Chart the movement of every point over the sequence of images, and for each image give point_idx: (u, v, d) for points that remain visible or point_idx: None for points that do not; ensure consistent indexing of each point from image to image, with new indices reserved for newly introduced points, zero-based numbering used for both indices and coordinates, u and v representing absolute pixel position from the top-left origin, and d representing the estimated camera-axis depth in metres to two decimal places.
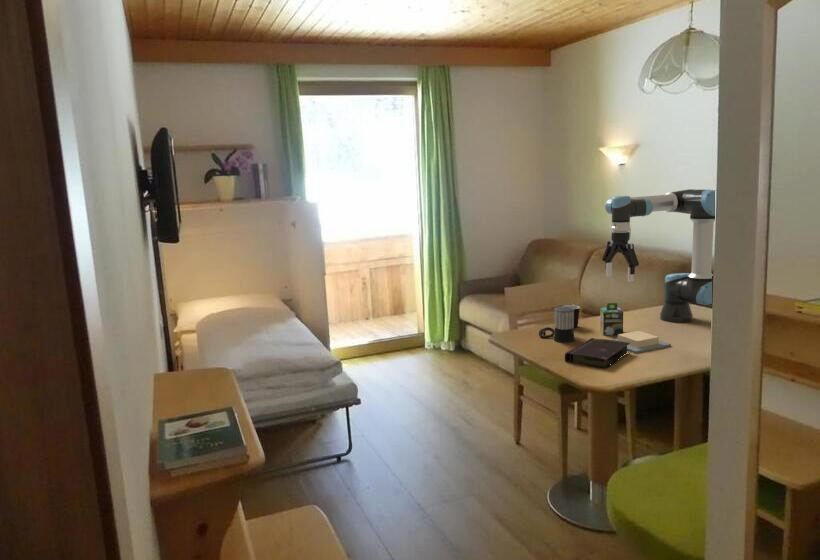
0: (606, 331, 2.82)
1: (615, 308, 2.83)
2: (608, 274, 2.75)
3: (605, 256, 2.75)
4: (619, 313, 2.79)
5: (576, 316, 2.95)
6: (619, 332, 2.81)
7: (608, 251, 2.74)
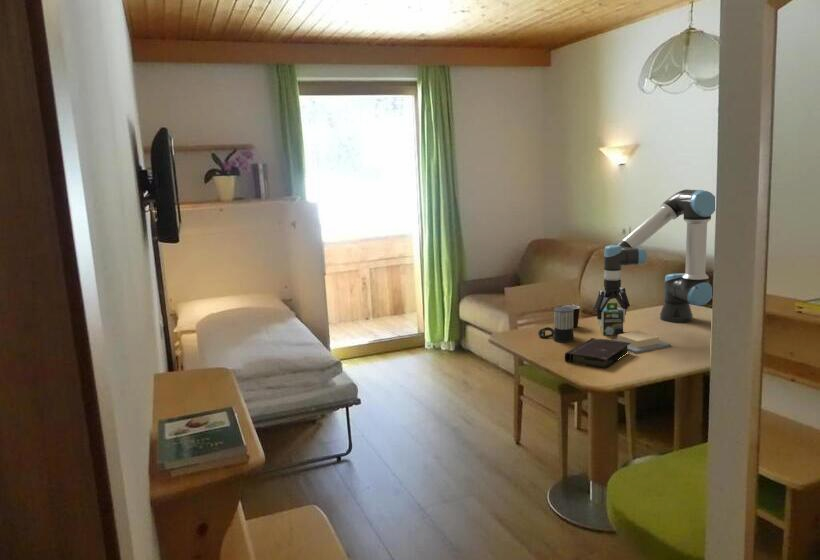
0: (606, 331, 2.82)
1: (615, 308, 2.83)
2: None
3: (623, 301, 2.88)
4: (619, 313, 2.79)
5: (576, 316, 2.95)
6: (619, 332, 2.81)
7: (622, 297, 2.86)
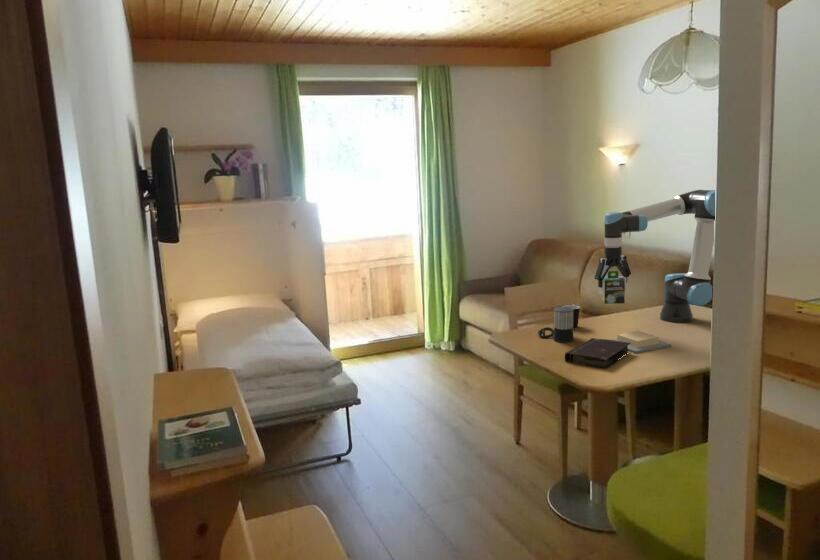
0: (607, 300, 2.79)
1: (616, 276, 2.81)
2: None
3: (624, 270, 2.85)
4: (620, 281, 2.77)
5: (576, 316, 2.95)
6: (620, 300, 2.78)
7: (623, 265, 2.83)
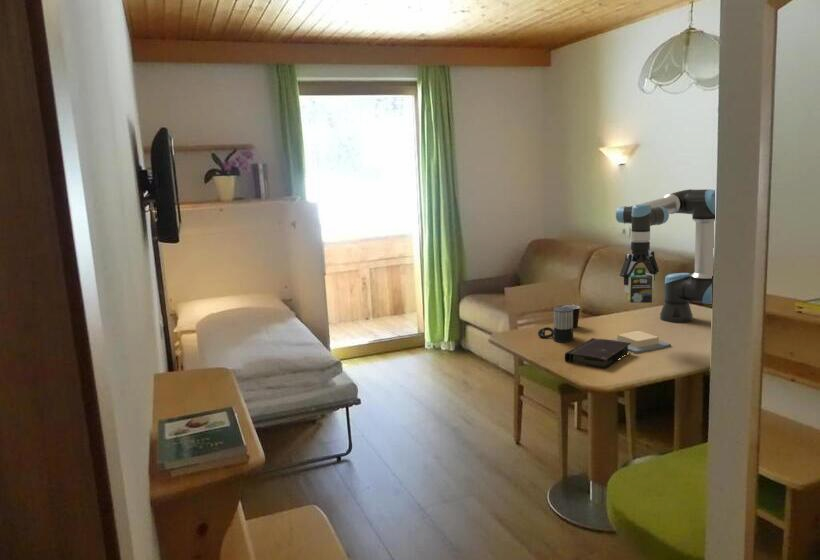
0: (633, 298, 2.59)
1: (643, 273, 2.61)
2: None
3: (651, 266, 2.65)
4: (648, 278, 2.57)
5: (576, 316, 2.95)
6: (647, 299, 2.58)
7: (651, 261, 2.63)
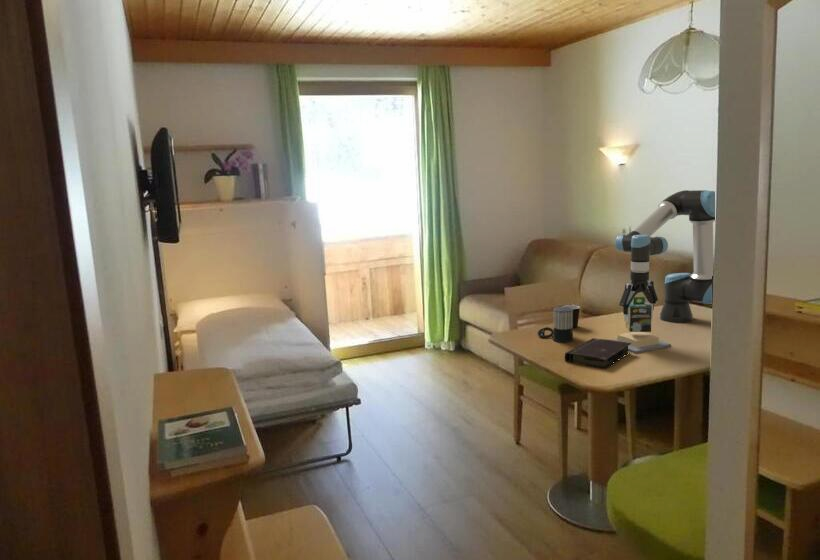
0: (633, 328, 2.62)
1: (642, 302, 2.63)
2: None
3: (650, 296, 2.67)
4: (647, 308, 2.59)
5: (576, 316, 2.95)
6: (647, 329, 2.61)
7: (650, 291, 2.66)
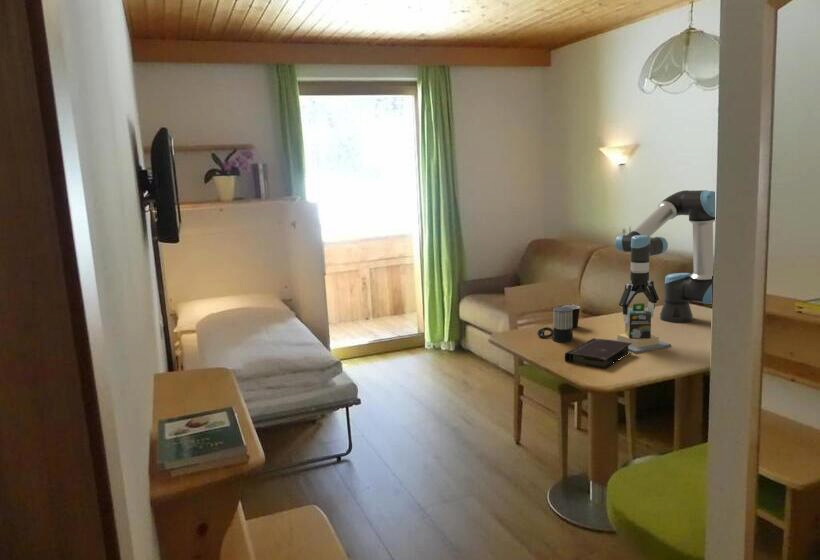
0: (632, 334, 2.62)
1: (642, 309, 2.63)
2: None
3: (651, 295, 2.67)
4: (647, 314, 2.59)
5: (576, 316, 2.95)
6: (646, 335, 2.61)
7: (650, 290, 2.66)
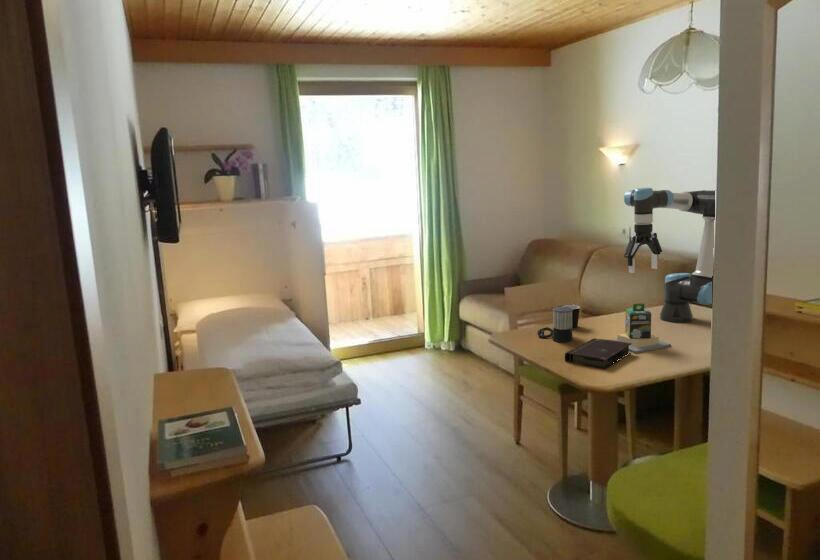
0: (633, 334, 2.62)
1: (642, 309, 2.63)
2: (652, 265, 2.74)
3: None
4: (647, 314, 2.59)
5: (576, 316, 2.95)
6: (646, 335, 2.61)
7: (654, 242, 2.72)
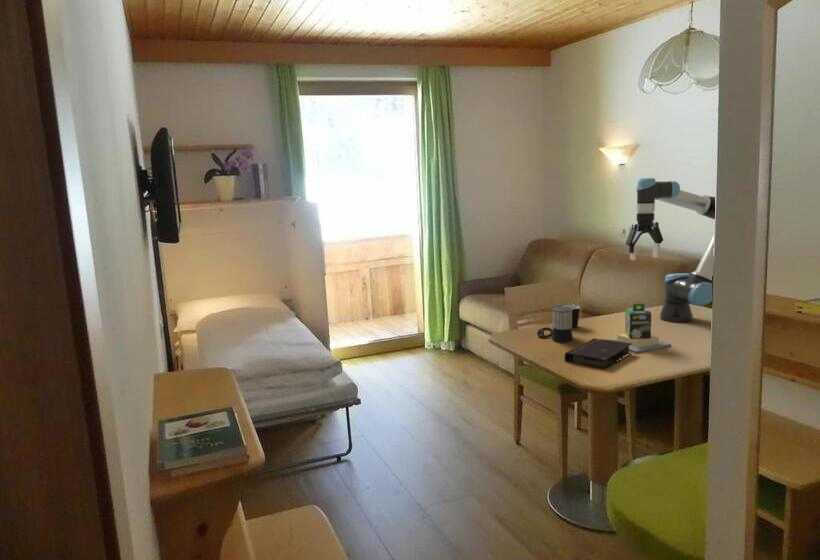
0: (633, 334, 2.62)
1: (642, 309, 2.63)
2: (653, 254, 2.83)
3: None
4: (647, 314, 2.59)
5: (576, 316, 2.95)
6: (646, 335, 2.61)
7: (655, 232, 2.82)
